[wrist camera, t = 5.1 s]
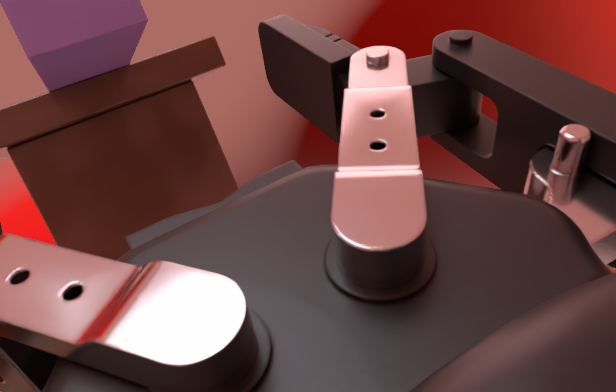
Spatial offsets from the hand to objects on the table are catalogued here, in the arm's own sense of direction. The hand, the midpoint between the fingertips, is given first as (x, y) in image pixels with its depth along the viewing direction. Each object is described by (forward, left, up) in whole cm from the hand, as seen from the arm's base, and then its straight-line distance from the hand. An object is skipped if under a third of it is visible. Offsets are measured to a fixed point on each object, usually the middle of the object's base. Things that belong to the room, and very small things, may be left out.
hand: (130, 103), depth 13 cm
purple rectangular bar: (-4, -11, +2) cm, 12 cm away
